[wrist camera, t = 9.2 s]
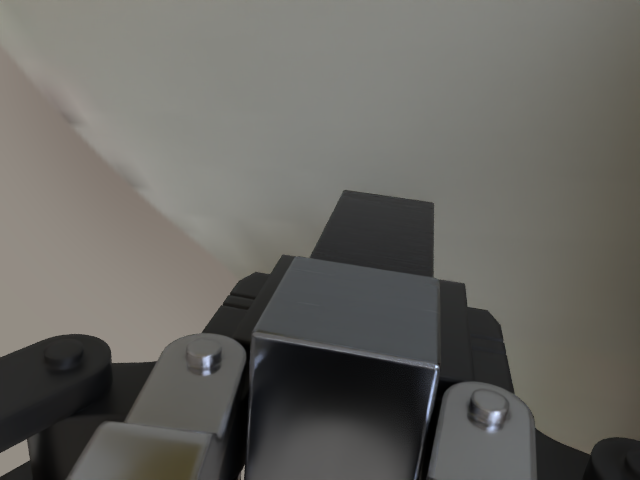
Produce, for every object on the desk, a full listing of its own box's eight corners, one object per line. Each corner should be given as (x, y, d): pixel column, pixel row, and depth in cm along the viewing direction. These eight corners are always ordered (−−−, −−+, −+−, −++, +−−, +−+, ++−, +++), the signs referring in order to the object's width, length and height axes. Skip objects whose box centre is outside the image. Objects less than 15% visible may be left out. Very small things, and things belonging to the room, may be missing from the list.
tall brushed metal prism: (346, 163, 15) (248, 331, 7) (439, 176, 15) (442, 365, 7) (330, 310, 17) (238, 574, 9) (413, 324, 16) (393, 611, 9)
